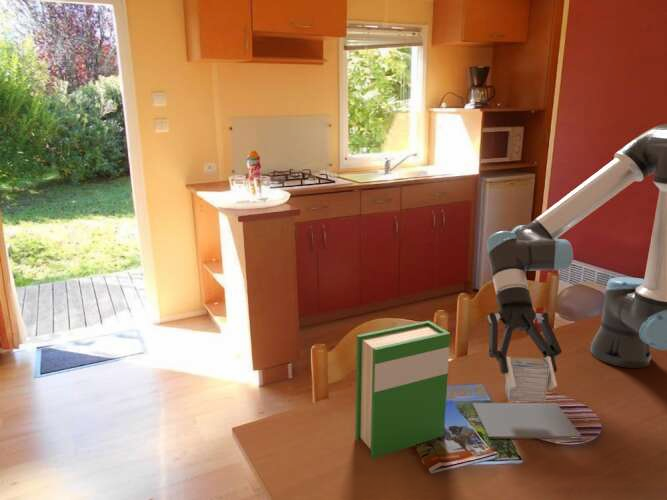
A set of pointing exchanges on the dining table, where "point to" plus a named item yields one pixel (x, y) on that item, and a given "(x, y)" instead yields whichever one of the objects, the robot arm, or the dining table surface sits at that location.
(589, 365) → the dining table surface
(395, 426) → the hardback book
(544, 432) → the mat
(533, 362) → the medicine box
